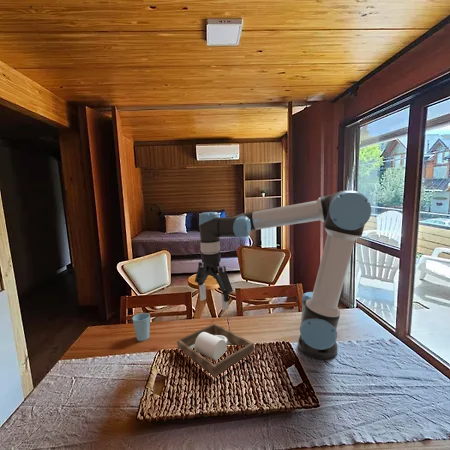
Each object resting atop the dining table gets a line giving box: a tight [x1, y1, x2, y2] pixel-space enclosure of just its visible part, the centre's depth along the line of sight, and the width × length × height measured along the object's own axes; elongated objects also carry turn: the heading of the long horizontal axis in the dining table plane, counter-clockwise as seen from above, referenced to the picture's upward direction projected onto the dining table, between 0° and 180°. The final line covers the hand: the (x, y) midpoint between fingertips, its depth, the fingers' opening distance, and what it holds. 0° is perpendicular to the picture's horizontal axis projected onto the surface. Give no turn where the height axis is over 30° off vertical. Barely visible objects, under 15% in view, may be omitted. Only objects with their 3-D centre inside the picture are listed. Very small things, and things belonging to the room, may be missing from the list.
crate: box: [176, 322, 255, 377], centre depth 108 cm, size 24×20×6 cm
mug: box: [195, 332, 227, 361], centre depth 107 cm, size 12×10×8 cm
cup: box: [131, 312, 151, 342], centre depth 123 cm, size 8×8×10 cm
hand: (213, 304), depth 106 cm, fingers open, 13 cm apart
